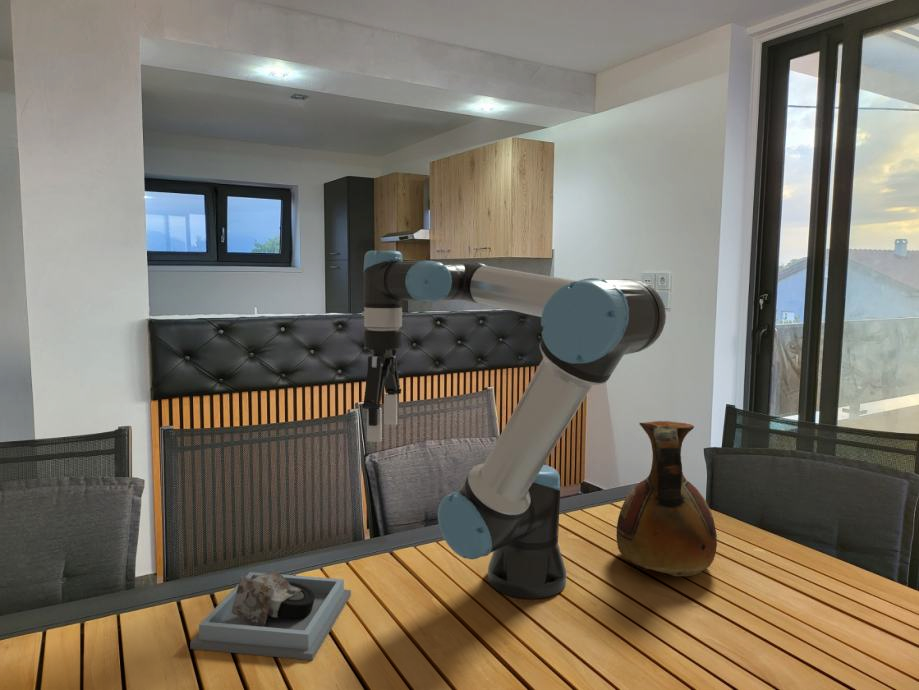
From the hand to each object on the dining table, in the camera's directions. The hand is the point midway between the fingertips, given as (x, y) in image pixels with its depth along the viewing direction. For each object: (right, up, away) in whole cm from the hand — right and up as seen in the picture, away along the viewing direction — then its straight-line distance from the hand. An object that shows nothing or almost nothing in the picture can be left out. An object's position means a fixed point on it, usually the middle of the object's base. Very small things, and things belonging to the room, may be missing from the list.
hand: (382, 432), depth 131 cm
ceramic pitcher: (+58, -28, +2) cm, 64 cm away
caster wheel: (-15, -28, -20) cm, 38 cm away
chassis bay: (-16, -29, -21) cm, 39 cm away
